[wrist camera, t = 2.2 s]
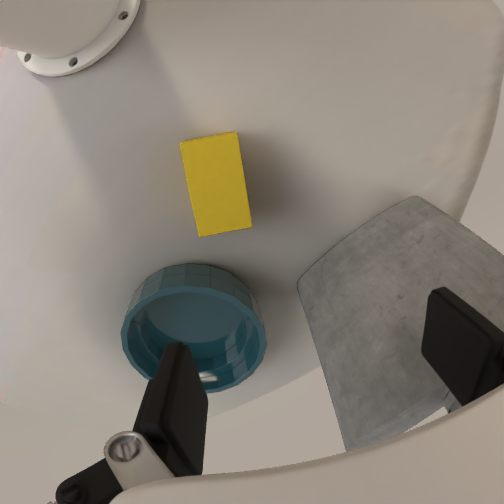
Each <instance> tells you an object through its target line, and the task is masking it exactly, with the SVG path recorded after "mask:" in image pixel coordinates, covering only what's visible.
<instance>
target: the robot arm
mask: <svg viewBox="0 0 504 504" xmlns="http://www.w3.org/2000/svg"><path fill="white" fill-rule="evenodd" d="M140 1H141V0H0V46H2V47H6V48H10V49H14V50H17V54H18V57H19V59H20V61H21V62H22V64H23V65H24V66H25V67H26V68H27V69H28V70H29V71H31V72H33V73H36V74H38V75H42V76H47V77H60V76H65V75H70V74H72V73H75V72H78V71H81V70H83V69H84V68H86V67H88V66H90V65H92V64H94V63H95V62H96V61H98V60H99V59H100V58H102V57H103V56H105V55H106V54H107V53H108V52H109V51H110V50H111V49H112V48H113V47H114V46H116V44H117V43H118V42H119V41H120V40H121V39H122V37H123V36H124V35H125V34H126V32H127V31H128V29H129V28H130V26H131V25H132V23H133V21H134V19H135V16H136V14H137V12H138V9H139V5H140ZM125 17H127V18H126V19H124V18H125ZM123 19H124V20H123ZM77 61H78V62H77ZM76 62H77V64H76V65H75V63H76ZM421 353H422V355H423V357H424V358H425V359H426V361H427V362H428V363H429V364H430V366H431V367H432V368H433V369H434V371H435V372H436V373H437V374H438V376H439V377H440V378H441V380H442V381H443V382H444V383H445V385H446V386H447V387H448V389H449V390H450V391H451V392H452V394H453V395H454V396H455V398H456V399H457V400H458V402H459V403H460V404H461V406H463V407H461V408H459V409H457V410H455V411H453V412H451V413H449V414H447V415H445V416H443V417H440V418H438V419H436V420H434V421H432V422H430V423H427V424H425V425H423V426H420V427H418V428H416V429H413V430H410V431H408V432H405V433H403V434H400V435H397V436H395V437H392V438H389V439H386V440H384V441H381V442H378V443H375V444H372V445H368V446H365V447H362V448H359V449H355V450H352V451H348V452H344V453H341V454H337V455H333V456H329V457H325V458H321V459H317V460H312V461H308V462H302V463H297V464H291V465H286V466H280V467H273V468H267V469H260V470H252V471H244V472H234V473H221V474H208V475H201V474H202V470H203V458H204V445H205V433H206V422H207V411H208V398H207V395H206V392H205V389H204V387H203V384H202V382H201V379H200V376H199V374H198V371H197V368H196V365H195V363H194V360H193V357H192V354H191V351H190V349H189V346H188V345H183V343H182V342H172V343H166V345H165V348H164V351H163V353H162V356H161V359H160V362H159V365H158V368H157V371H156V374H155V377H154V379H150V380H149V382H148V385H147V388H146V391H145V394H144V397H143V400H142V403H141V406H140V409H139V412H138V415H137V418H136V421H135V424H134V427H133V430H132V431H123V432H120V433H117V434H115V435H114V436H112V437H111V438H110V439H109V440H108V441H107V442H106V445H105V447H104V456H105V458H104V459H102V460H101V461H99V462H97V463H95V464H94V465H92V466H90V467H88V468H87V469H85V470H83V471H81V472H79V473H77V474H76V475H74V476H72V477H70V478H68V479H66V480H65V481H63V482H62V483H61V484H60V485H59V486H58V488H57V491H56V502H55V503H54V504H504V332H503V331H502V330H500V329H499V328H498V327H497V326H496V325H494V324H493V323H492V322H491V321H489V320H488V319H487V318H486V317H484V316H483V315H482V314H481V313H479V312H478V311H477V310H476V309H474V308H473V307H472V306H470V305H469V304H468V303H467V302H465V301H464V300H463V299H461V298H460V297H459V296H457V295H456V294H455V293H453V292H452V291H451V290H449V289H448V288H447V287H445V286H443V287H440V288H436V289H433V290H432V291H431V293H430V295H429V296H428V300H427V309H426V317H425V325H424V332H423V338H422V344H421ZM48 504H53V503H52V502H49V503H48Z"/></svg>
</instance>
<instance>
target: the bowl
mask: <svg viewBox="0 0 504 504" xmlns="http://www.w3.org/2000/svg"><path fill="white" fill-rule="evenodd" d="M121 339H122V347H123V351H124V352H125V354H126V356H127V358H128V360H129V362H130V364H131V365H132V366H133V367H134V368H135V369H136V370H137V371H138V372H139V373H140V374H141V375H142V376H143V377H144V378H146V379H147V380H150V379H154V377H155V374H156V371H157V368H158V365H159V362H160V359H161V356H162V353H163V351H164V348H165V345H166V343H172V342H182V343H183V345H188V346H189V349H190V351H191V354H192V357H193V360H194V363H195V365H196V368H197V371H198V374H199V376H200V379H201V382H202V384H203V387H204V389H205V392H206V394H207V393H214V392H220V391H223V390H226V389H228V388H231V387H234V386H236V385H238V384H240V383H241V382H242V381H244V380H245V379H247V378H248V377H249V376H251V375H252V374H253V373H254V371H255V370H256V369H257V367H258V366H259V365H260V363H261V362H262V360H263V357H264V353H265V349H266V346H267V342H266V335H265V329H264V325H263V321H262V318H261V314H260V310H259V306H258V303H257V301H256V300H255V298H254V296H253V295H252V293H251V291H250V290H249V288H248V287H247V286H246V285H244V284H243V283H242V282H241V281H239V280H238V279H237V278H236V277H235V276H233V275H232V274H230V273H228V272H225V271H223V270H220V269H218V268H215V267H213V266H208V265H197V264H182V265H177V266H172V267H167V268H164V269H162V270H160V271H158V272H156V273H155V274H153V275H151V276H149V277H147V278H146V279H145V281H144V282H143V283H142V284H141V285H140V286H139V288H138V289H137V290H136V291H135V293H134V295H133V297H132V300H131V303H130V305H129V308H128V311H127V314H126V316H125V320H124V323H123V326H122V329H121Z"/></svg>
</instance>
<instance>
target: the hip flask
mask: <svg viewBox="0 0 504 504" xmlns="http://www.w3.org/2000/svg"><path fill="white" fill-rule="evenodd" d="M443 286H445V287H447V288H448V289H449V290H451V291H452V292H453V293H455V294H456V295H457V296H459V297H460V298H461V299H463V300H464V301H465V302H467V303H468V304H469V305H470V306H472V307H473V308H474V309H476V310H477V311H478V312H479V313H481V314H482V315H483V316H484V317H486V318H487V319H488V320H489V321H491V322H492V323H493V324H494V325H496V326H497V327H498V328H499V329H500V330H502V331H503V332H504V255H502V254H501V253H500V252H498V251H497V250H496V249H495V248H494V247H492V246H491V245H490V244H488V243H487V242H486V241H484V240H483V239H482V238H480V237H479V236H478V235H476V234H475V233H474V232H472V231H471V230H469V229H468V228H467V227H465V226H464V225H462V224H461V223H459V222H458V221H457V220H455V219H454V218H452V217H451V216H449V215H448V214H446V213H445V212H443V211H442V210H440V209H439V208H437V207H435V206H434V205H432V204H431V203H429V202H428V201H426V200H424V199H423V198H421V197H419V196H412V197H409V198H407V199H405V200H403V201H401V202H400V203H398V204H396V205H394V206H392V207H390V208H389V209H387V210H385V211H384V212H382V213H381V214H379V215H377V216H376V217H374V218H373V219H371V220H370V221H368V222H367V223H365V224H364V225H363V226H361V227H360V228H358V229H357V230H356V231H354V232H353V233H352V234H350V235H349V236H347V237H346V238H345V239H344V240H342V241H341V242H340V243H338V244H337V245H336V246H335V247H333V248H332V249H331V250H330V251H329V252H327V253H326V254H325V255H324V256H323V257H322V258H321V259H319V260H318V261H317V262H316V263H315V264H314V265H313V266H312V267H311V268H310V269H309V270H308V271H307V272H306V273H305V274H304V275H303V276H302V277H301V278H300V279H299V281H298V283H297V289H298V293H299V296H300V299H301V302H302V305H303V308H304V311H305V314H306V317H307V320H308V324H309V327H310V330H311V333H312V336H313V340H314V343H315V346H316V349H317V353H318V356H319V359H320V362H321V366H322V369H323V372H324V375H325V379H326V382H327V386H328V389H329V392H330V396H331V399H332V403H333V406H334V410H335V413H336V417H337V420H338V423H339V427H340V430H341V434H342V438H343V442H344V445H345V449H346V452H348V451H352V450H355V449H359V448H362V447H365V446H368V445H372V444H375V443H378V442H381V441H384V440H386V439H389V438H392V437H395V436H397V435H400V434H402V433H403V432H405V431H406V430H408V429H410V428H411V427H413V426H414V425H416V424H418V423H419V422H421V421H422V420H424V419H425V418H427V417H428V416H430V415H431V414H433V413H434V412H435V411H437V410H439V409H440V408H442V407H443V406H444V407H445V408H446V410H447V412H448V414H449V413H451V412H453V411H455V410H457V409H459V408H461V407H463V406H461V404H460V403H459V402H458V400H457V399H456V398H455V396H454V395H453V394H452V392H451V391H450V390H449V389H448V387H447V386H446V385H445V383H444V382H443V381H442V380H441V378H440V377H439V376H438V374H437V373H436V372H435V371H434V369H433V368H432V367H431V366H430V364H429V363H428V362H427V361H426V359H425V358H424V357H423V355H422V353H421V344H422V338H423V332H424V325H425V317H426V309H427V300H428V296H429V295H430V293H431V291H432V290H433V289H436V288H440V287H443Z"/></svg>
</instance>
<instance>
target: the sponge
mask: <svg viewBox="0 0 504 504" xmlns="http://www.w3.org/2000/svg"><path fill="white" fill-rule="evenodd" d="M180 149H181V154H182V160H183V165H184V170H185V174H186V179H187V184H188V189H189V194H190V198H191V203H192V208H193V212H194V217H195V221H196V225H197V230H198V234H199V237H203V236H209V235H214V234H219V233H224V232H229V231H234V230H240V229H245V228H250V227H252V220H251V214H250V208H249V201H248V195H247V189H246V183H245V176H244V170H243V164H242V158H241V152H240V145H239V139H238V133H236V132H228V133H222V134H216V135H211V136H206V137H201V138H196V139H191V140H186V141H184V142H182V143H180Z"/></svg>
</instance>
